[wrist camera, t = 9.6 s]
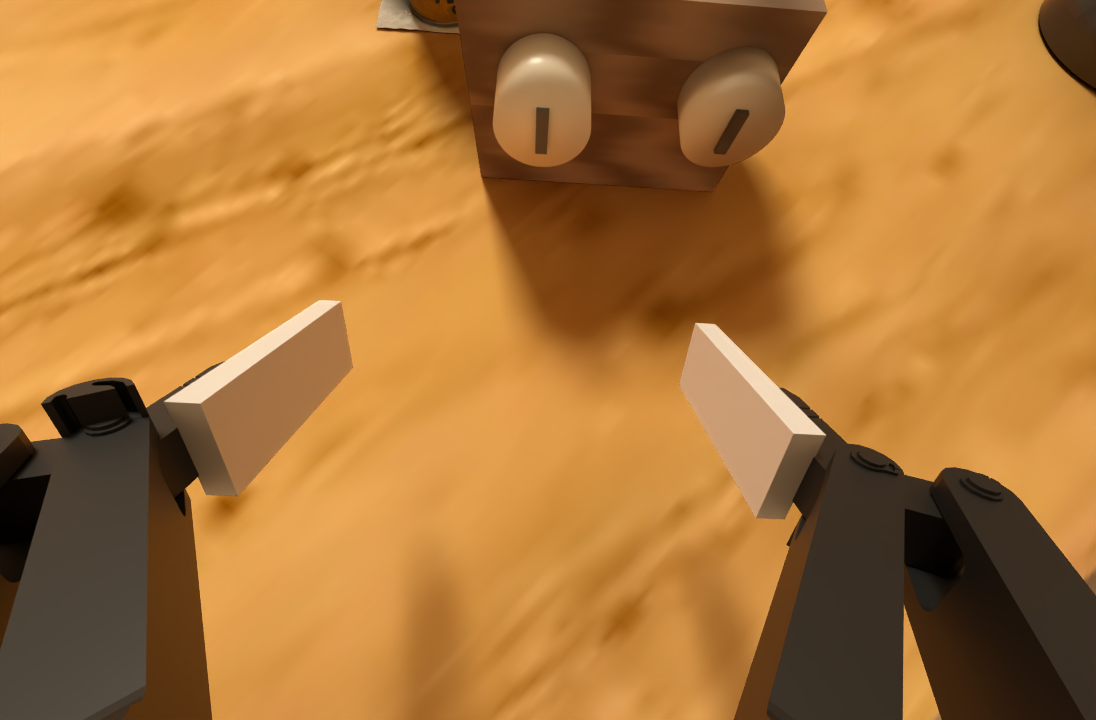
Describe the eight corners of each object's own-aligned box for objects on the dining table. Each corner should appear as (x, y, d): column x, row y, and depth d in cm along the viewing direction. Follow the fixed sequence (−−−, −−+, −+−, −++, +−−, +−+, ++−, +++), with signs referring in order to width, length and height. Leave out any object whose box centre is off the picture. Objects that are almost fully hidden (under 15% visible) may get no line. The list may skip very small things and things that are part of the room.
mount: (700, 84, 30) (792, -126, 20) (716, 224, 27) (838, 57, 16) (492, 68, 30) (473, -157, 19) (477, 210, 26) (444, 27, 16)
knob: (585, -14, 26) (597, -119, 22) (583, 174, 22) (599, 91, 17) (512, -21, 26) (509, -128, 21) (496, 168, 21) (487, 83, 17)
